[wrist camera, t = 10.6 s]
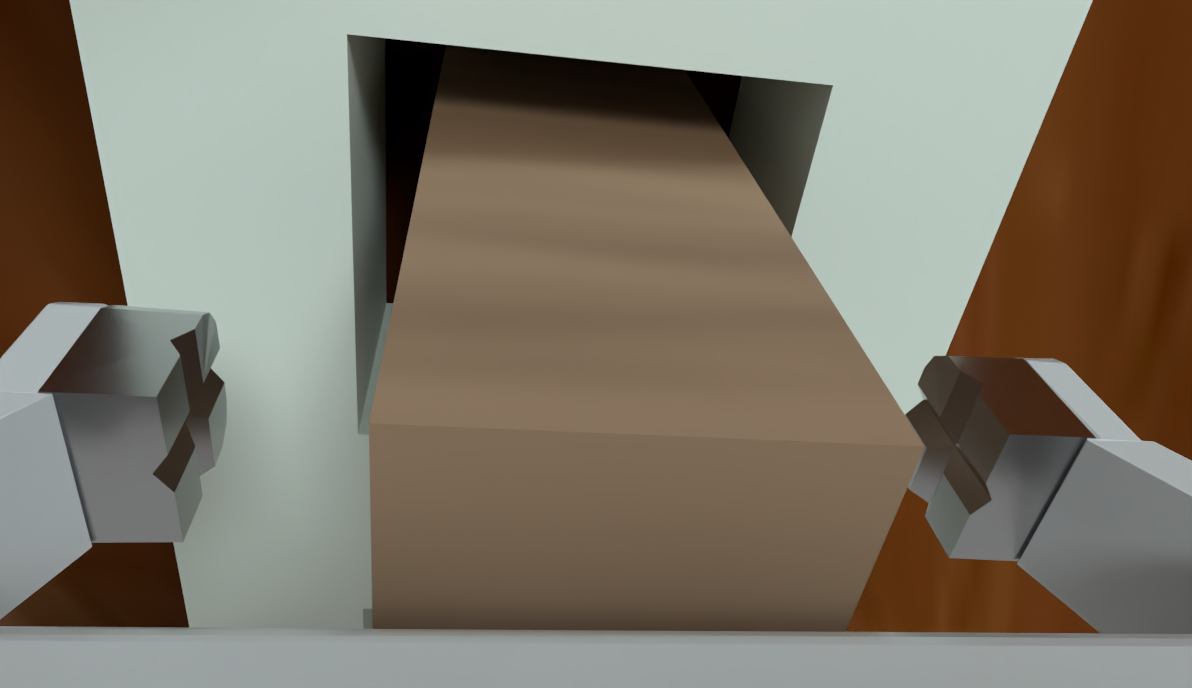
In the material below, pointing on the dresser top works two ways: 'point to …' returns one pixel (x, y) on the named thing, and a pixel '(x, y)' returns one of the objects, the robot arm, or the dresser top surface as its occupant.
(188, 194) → the socket board
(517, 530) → the wood grain block
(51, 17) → the dresser top surface
